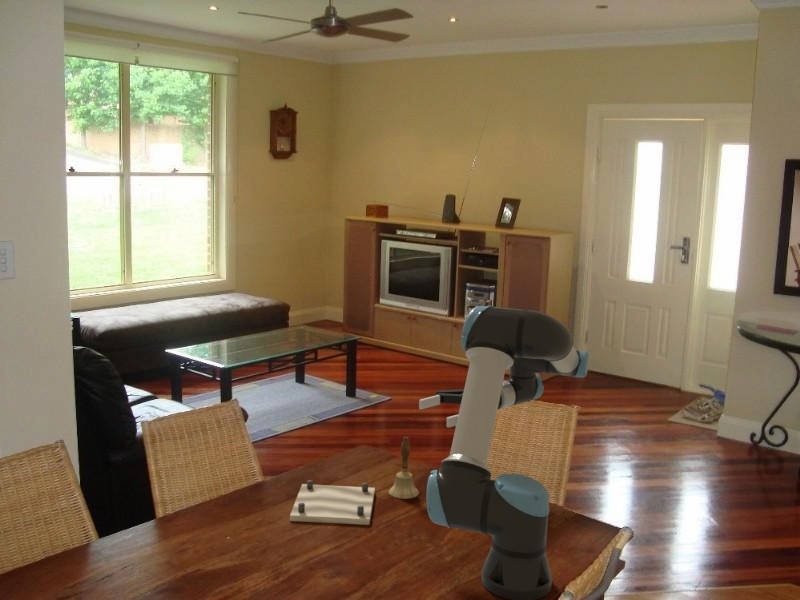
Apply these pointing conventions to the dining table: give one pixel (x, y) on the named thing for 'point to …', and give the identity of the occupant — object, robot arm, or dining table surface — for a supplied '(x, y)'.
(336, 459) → the dining table surface
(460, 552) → the dining table surface
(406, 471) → the hand bell
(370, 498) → the board
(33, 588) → the dining table surface
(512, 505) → the robot arm
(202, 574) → the dining table surface
